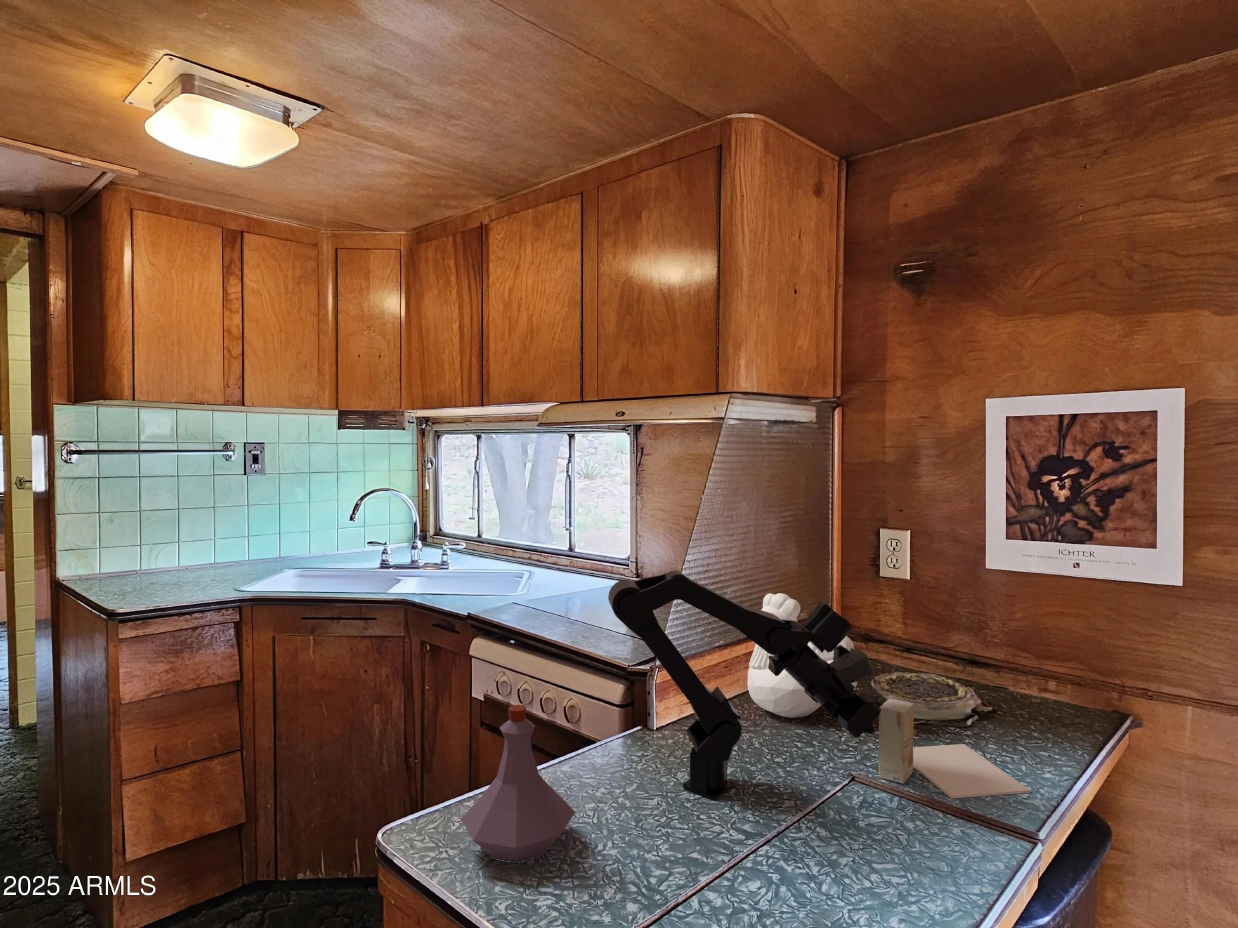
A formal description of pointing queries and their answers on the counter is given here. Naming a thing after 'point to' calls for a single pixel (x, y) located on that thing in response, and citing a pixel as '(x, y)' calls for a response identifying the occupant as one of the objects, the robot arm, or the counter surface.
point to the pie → (930, 695)
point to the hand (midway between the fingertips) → (872, 731)
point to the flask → (517, 801)
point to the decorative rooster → (783, 689)
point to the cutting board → (963, 772)
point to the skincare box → (896, 740)
